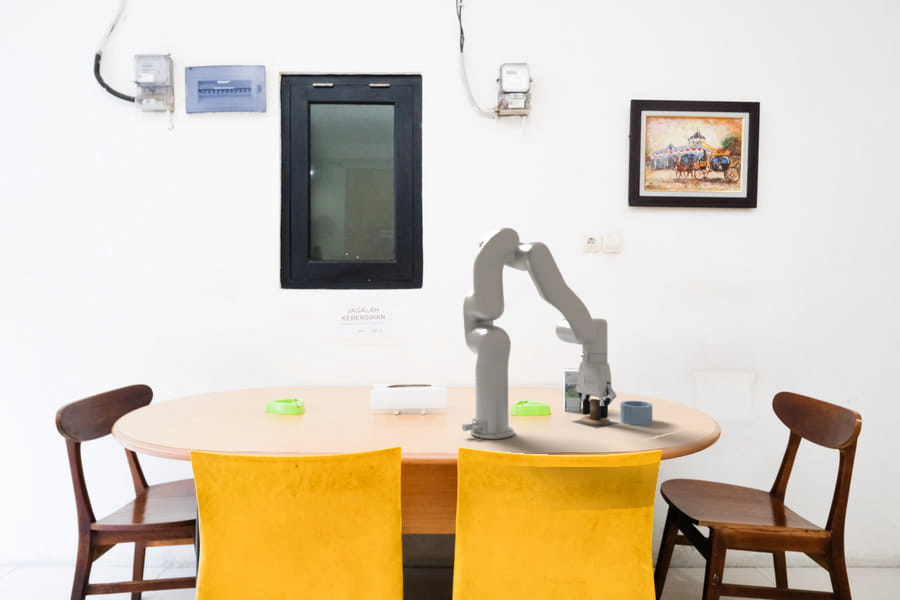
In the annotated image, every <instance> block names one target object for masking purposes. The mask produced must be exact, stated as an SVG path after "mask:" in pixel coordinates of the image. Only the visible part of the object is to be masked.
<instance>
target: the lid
mask: <svg viewBox="0 0 900 600" xmlns="http://www.w3.org/2000/svg"><path fill="white" fill-rule="evenodd" d="M589 401H590V414H589V415H586V416H585V415H584V416H582V417H581V418H580V420H581V423H583V424H586V425H591V426H605V425H608V424H609V423H610V421H611V420H610V419H609V417H607V418H604V419H600V418H599V406H601V403H600V400H599V398H598V399H597V398H590V399H589ZM586 425H585V426H586Z"/></svg>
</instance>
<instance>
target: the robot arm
mask: <svg viewBox="0 0 900 600" xmlns="http://www.w3.org/2000/svg"><path fill="white" fill-rule="evenodd" d="M478 245H479V246H478V247H479V250H478V252H477V253H476V256H475V258H474V262H473V270H472V273H473V276H472V277H473V283H472V284H473V289H472V290H470V291H469V292H467V294H466V295H465V298H464V301H463V306H462V311H463V312H462V313H463V314H462V316H463V329H464V330H463V331H464V338H465V339H464V340H465V344H466V345H467V348H468V349H469V350H470V352H471V353H473V354H475V355H477V358H476V363H475V374H474V375H475V379H474V380H475V418H472V421H471V422H470V423H465V424H464V423H463V424H462V426H461V428H462V431H463V432H467V431H470V435H471V436H473V435H474V436H473V437H475V436H476V438H479V437H480V438H479V439H484V438H485V439H486V440H500V439H501V438H502V439H507V437H508V438H510V436H511V437H512V436H514V434H515V429H514V428H513V427H511V426H509V424H510V423H509V362H510V355H511V349H512V345H511V339H510V336H509V334H508V332H507V331H506V330H505V329H504V328H502V327H501V326H498V325H494V321H497V320H498V319H500V318H501V317H502V316H503V314H504V311H505V297H504V296H505V295H504V282H503V281H504V280H503V276H504V275H503V272H504V267H505V266H506V267H508V268H512V269H515V270H518V271H522V272H523V271H524V272H528V274H529V276H530V278H531V280H532V283H533V284H534V286H535V289H536V290H537V293H538V294H539V297H540V298H542V300H544V301H545V302H547V303H548V304H549V305H551V306H552V307H554V308H555V309H557V311H559V312H560V314H561V315H562V316H563V318H564V319H562V320H559V322H558V323H557V324H556V326H555V334H556V337H558V339H559V340H560V341H563V342H565V343H570V344H576V345H581V346H582V352H581V353H580V357H581V358H582V361H580V363H579V368H578V369H579V373H578V385H577V386H576V387H575V390H576V391H577V393H578V395H579V396H580V398H581V403H582V414H583V415H584V416H585V415H586V416H587V415H590V399H591V397H597V398H598V400H600V406H599V418H600V419H604V418H609V406H610V404H611V403H612V402H613V400H615V398H616V397H617V393H616V392H615V391H614V390H613V388H612V376H611V375H612V374H611V368H610V363H609V362H608V322H607V320H606V319H604V318H593V317H592V316H591V314H590V312H589V310H588V308H587V306H586V305H585V303H584V302H583V301H582V299H580V298H579V296H578V295H577V294H576V293H575V292H574V291H573V290H572V289H571V288H570V287H569V286H568V284H567V283H566V280H565V279H564V277H563V275H562V274H561V273H562V272H561V271H560V269H559V267H558V265H557V263H556V261H555V258H554V256H553V254H552V251H550V249H549V246H547V245H546V244H545V243H543V242H540V241H534V242H533V241H532V242H527V243H524V242H520V236H519V234H518V232H517V231H516V230H515V229H513V228H511V227H501V228H497V229H494V230H490V231H487V232H486V233H484V234H483V235H482V236H481V238H480V240H479V244H478Z"/></svg>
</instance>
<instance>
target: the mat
mask: <svg viewBox="0 0 900 600" xmlns="http://www.w3.org/2000/svg"><path fill="white" fill-rule="evenodd" d="M571 422H572V423H574V424H580V425H582V426H586V427H591V428H593V429H600V428H605V427H609V426H614V425H618V424H619V422H616V421H612V420H610V423H609V424H608V425H605V426H591V425H586V424H583V423H581V419H578V420H573V421H571Z"/></svg>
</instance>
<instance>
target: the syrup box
mask: <svg viewBox="0 0 900 600" xmlns="http://www.w3.org/2000/svg"><path fill="white" fill-rule="evenodd" d="M578 373H579V368H572V367H571V368H567V367H566V368H565V367H564V368H562V409H563V411H564V412H565V413H569V412H571V413H581V412H582V401H581V398H580V396H579V395H578V393H577V391H576V390H575V387H576V386H577V385H578Z"/></svg>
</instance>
